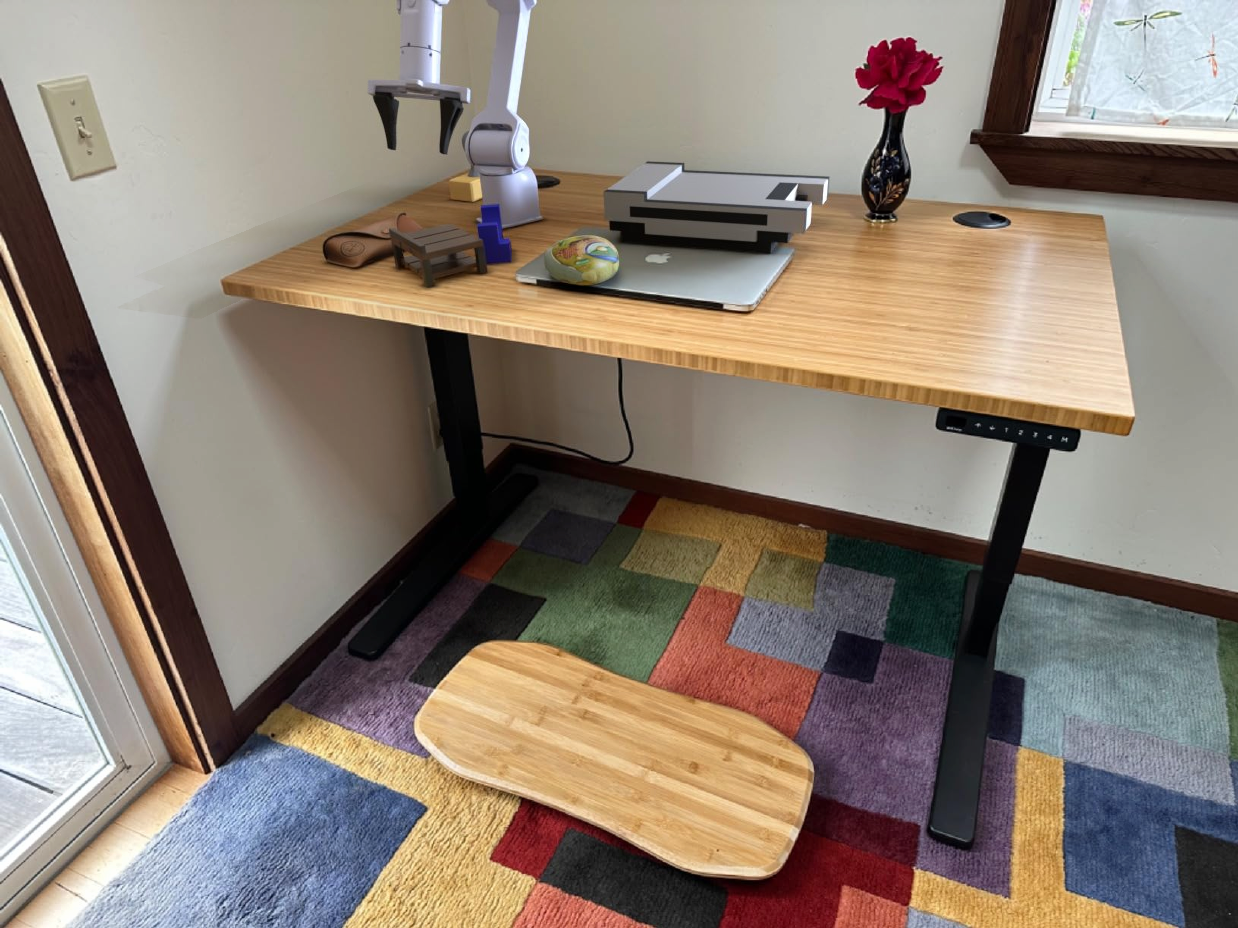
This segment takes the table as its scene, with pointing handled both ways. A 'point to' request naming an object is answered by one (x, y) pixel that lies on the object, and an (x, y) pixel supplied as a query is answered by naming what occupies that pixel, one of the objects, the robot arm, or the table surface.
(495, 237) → the blue stepped block
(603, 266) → the cell model
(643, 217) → the game console
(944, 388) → the table surface
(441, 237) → the rack
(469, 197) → the rubber stamp
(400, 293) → the table surface
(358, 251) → the sunglasses case
